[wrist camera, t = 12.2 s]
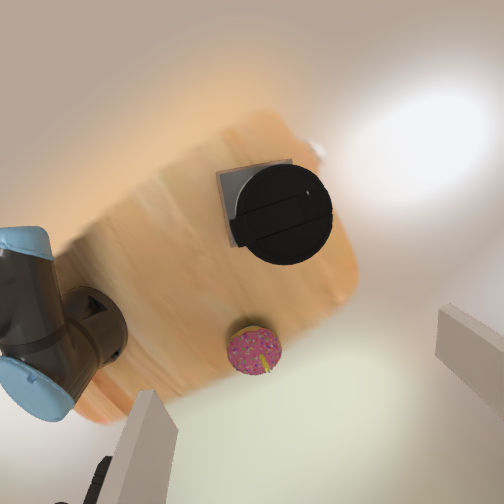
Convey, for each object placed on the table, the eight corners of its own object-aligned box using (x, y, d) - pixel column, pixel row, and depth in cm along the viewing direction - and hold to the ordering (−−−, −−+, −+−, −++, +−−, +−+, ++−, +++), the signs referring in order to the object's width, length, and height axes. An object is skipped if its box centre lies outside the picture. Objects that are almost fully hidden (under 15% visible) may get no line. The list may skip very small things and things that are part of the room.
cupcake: (255, 305, 45) (260, 343, 33) (288, 337, 46) (302, 379, 35) (217, 337, 46) (211, 379, 34) (251, 366, 47) (255, 411, 36)
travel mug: (227, 188, 35) (213, 183, 15) (276, 172, 35) (322, 149, 15) (243, 234, 36) (249, 284, 17) (291, 218, 36) (351, 248, 17)
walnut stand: (231, 240, 42) (230, 248, 37) (218, 175, 40) (215, 172, 34) (296, 227, 42) (305, 233, 37) (284, 162, 40) (292, 158, 34)
